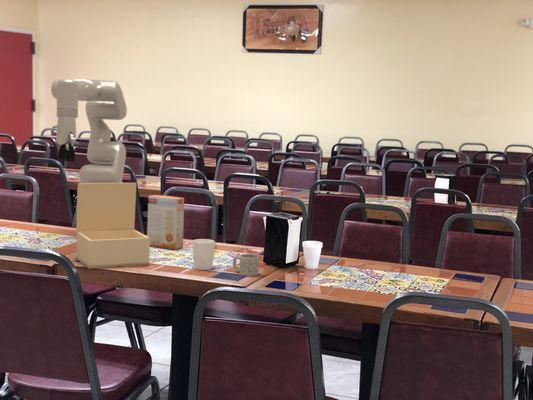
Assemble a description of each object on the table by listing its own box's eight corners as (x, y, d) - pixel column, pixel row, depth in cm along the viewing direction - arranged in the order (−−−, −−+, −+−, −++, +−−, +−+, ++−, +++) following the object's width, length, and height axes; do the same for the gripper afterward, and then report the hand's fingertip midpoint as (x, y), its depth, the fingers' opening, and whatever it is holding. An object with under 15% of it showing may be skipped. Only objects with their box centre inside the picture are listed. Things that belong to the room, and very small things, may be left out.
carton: (76, 258, 283) (76, 231, 282) (133, 255, 294) (134, 229, 292) (88, 268, 268) (89, 240, 266) (149, 265, 278) (149, 238, 276)
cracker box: (183, 248, 312) (185, 197, 309) (175, 250, 306) (176, 198, 303) (155, 244, 318) (156, 194, 315) (146, 246, 312) (147, 195, 310)
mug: (261, 274, 272) (262, 255, 271) (251, 277, 266) (252, 258, 265) (238, 269, 277) (238, 251, 276) (227, 273, 271) (228, 254, 270)
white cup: (200, 264, 282) (201, 238, 281) (218, 268, 278) (219, 241, 277) (187, 268, 275) (188, 241, 274) (205, 271, 272) (206, 243, 270)
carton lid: (76, 231, 282) (72, 227, 287) (134, 229, 292) (129, 225, 297) (78, 183, 279) (74, 180, 284) (136, 182, 289) (131, 180, 294)
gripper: (50, 112, 286) (50, 158, 288) (63, 113, 271) (62, 161, 273) (70, 113, 290) (69, 158, 292) (84, 114, 275) (83, 162, 277)
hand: (66, 160), depth 283 cm, fingers open, 9 cm apart
